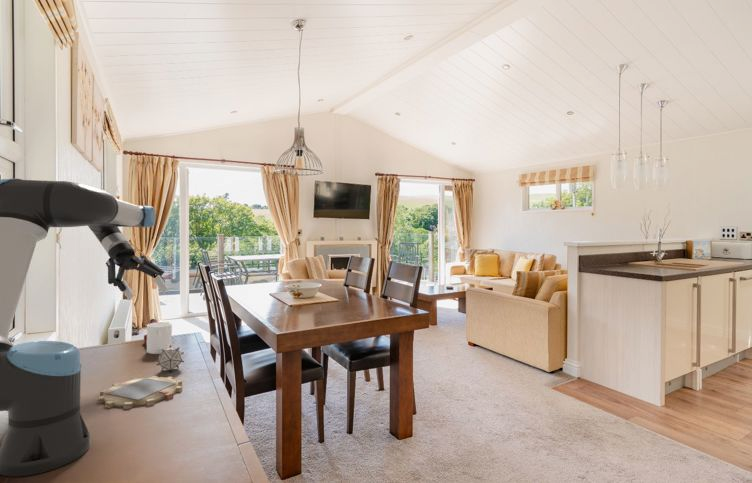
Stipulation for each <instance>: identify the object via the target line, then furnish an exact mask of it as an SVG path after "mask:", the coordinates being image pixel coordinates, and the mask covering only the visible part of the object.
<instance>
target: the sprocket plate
mask: <svg viewBox="0 0 752 483" xmlns="http://www.w3.org/2000/svg"><path fill="white" fill-rule="evenodd" d="M174 378H175V377H174V376H167V377H163V376H160V377H159V376H158V375H152V376H150V377H143V378H139V377H136V378H135V377H134V378H131V380H127V381H125V382H124V381H123V382H116V383H113V384H112V386H111V387H109V388H106V389H102V390H101V391H99V396H97V403H98V404H103V403H104V407H105V408H107V409H112V408H113V407H117V408H118V407H119V408H120V407H122V408H123V410H124V409H125V410H127V409H132V408H133V407H138V406H144V405H145V406H146V407H149V406H153V405H156V404H155V403H156V402H160V401H163V400H170V399H172V398H174V395H175V394H176V393H181V392H182V390H183V380H181V379H178V380H176V379H174Z"/></svg>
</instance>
